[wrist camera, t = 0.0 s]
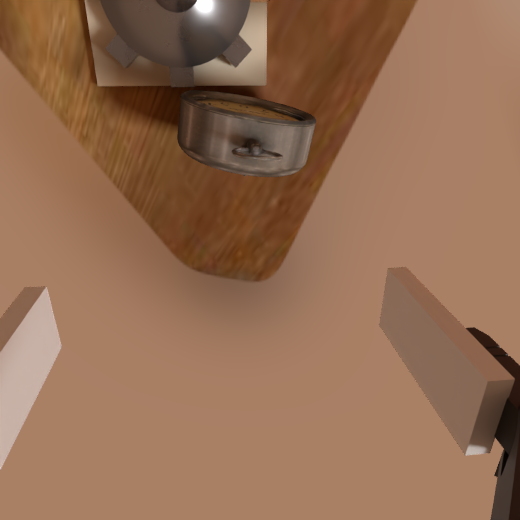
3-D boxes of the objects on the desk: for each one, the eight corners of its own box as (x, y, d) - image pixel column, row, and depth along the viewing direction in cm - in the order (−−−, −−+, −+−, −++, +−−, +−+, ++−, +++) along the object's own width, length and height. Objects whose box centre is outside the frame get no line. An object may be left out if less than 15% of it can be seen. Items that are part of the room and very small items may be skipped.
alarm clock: (299, 105, 40) (352, 129, 26) (288, 160, 43) (331, 212, 28) (185, 83, 38) (173, 97, 24) (179, 143, 41) (165, 189, 26)
